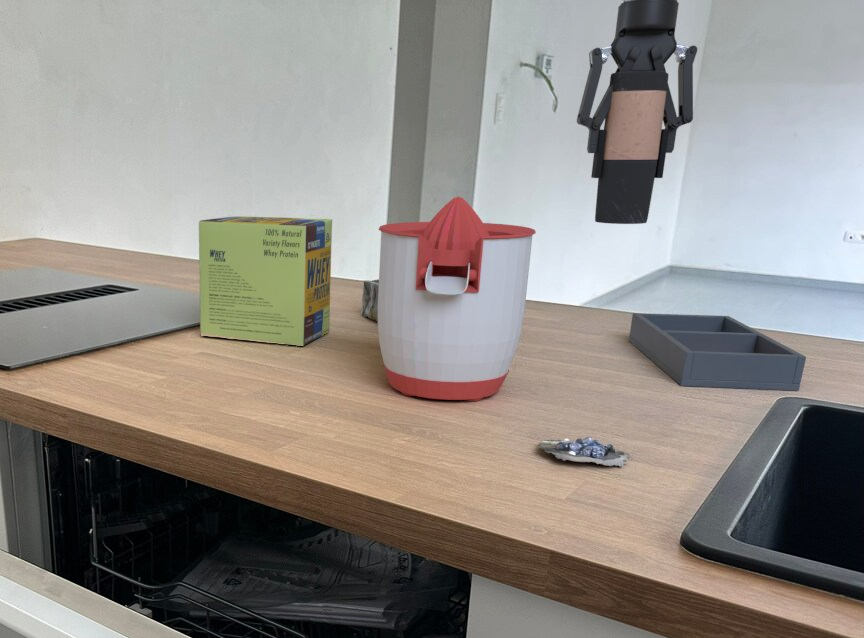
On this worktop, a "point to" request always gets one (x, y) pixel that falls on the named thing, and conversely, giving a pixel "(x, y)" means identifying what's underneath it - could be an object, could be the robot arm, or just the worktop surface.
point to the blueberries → (585, 451)
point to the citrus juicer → (451, 303)
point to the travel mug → (631, 146)
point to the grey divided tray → (716, 352)
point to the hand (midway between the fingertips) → (626, 177)
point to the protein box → (265, 278)
